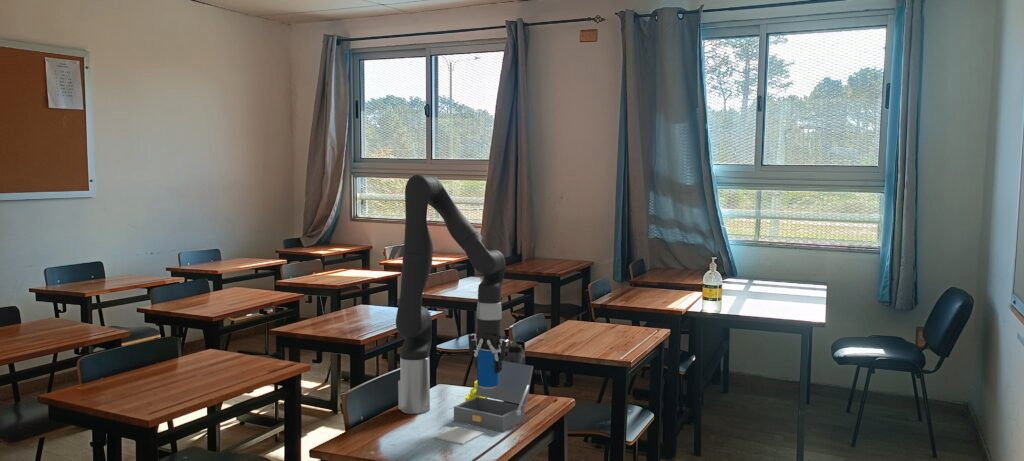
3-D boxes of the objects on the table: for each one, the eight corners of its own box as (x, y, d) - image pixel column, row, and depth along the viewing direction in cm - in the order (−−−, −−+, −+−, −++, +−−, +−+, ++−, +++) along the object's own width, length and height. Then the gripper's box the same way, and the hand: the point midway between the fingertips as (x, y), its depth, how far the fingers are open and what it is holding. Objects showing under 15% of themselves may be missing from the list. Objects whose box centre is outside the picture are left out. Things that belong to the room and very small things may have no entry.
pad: (435, 437, 205) (435, 436, 205) (456, 427, 214) (456, 426, 214) (463, 444, 200) (463, 443, 200) (483, 433, 208) (483, 432, 208)
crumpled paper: (461, 403, 237) (461, 380, 237) (480, 398, 243) (479, 375, 242) (472, 407, 233) (472, 383, 232) (491, 402, 238) (491, 379, 238)
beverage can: (501, 384, 221) (502, 346, 220) (494, 390, 215) (494, 351, 214) (481, 382, 223) (482, 344, 222) (473, 388, 217) (474, 349, 216)
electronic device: (520, 407, 232) (520, 346, 230) (502, 406, 233) (502, 346, 232) (525, 399, 241) (525, 340, 240) (508, 398, 242) (508, 339, 241)
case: (451, 421, 219) (451, 369, 218) (484, 406, 233) (484, 357, 232) (504, 433, 209) (504, 378, 207) (535, 416, 223) (535, 365, 222)
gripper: (462, 315, 218) (461, 369, 219) (501, 321, 210) (500, 377, 211) (477, 311, 224) (476, 364, 225) (515, 317, 216) (514, 371, 218)
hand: (488, 370), depth 218 cm, fingers closed on beverage can, 6 cm apart
